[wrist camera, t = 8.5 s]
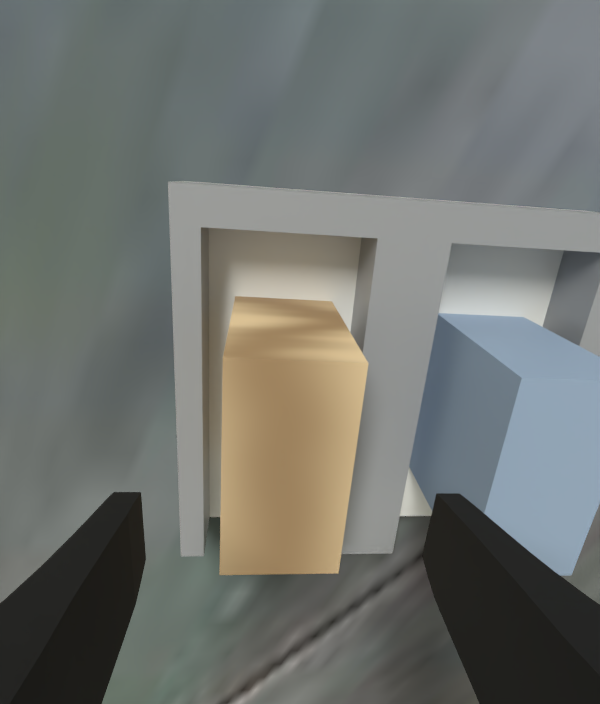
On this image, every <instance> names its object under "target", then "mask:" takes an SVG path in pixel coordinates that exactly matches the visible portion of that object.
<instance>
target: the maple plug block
mask: <svg viewBox="0 0 600 704" xmlns="http://www.w3.org/2000/svg"><path fill="white" fill-rule="evenodd" d="M368 364H369V363H368V362H367V360H366V358H365V356H364V355H363V353H362V351H361V350H360V348H359V346H358V345H357V343H356V341H355V340H354V338H353V336H352V334H351V333H350V331H349V329H348V328H347V326H346V324H345V323H344V321H343V319H342V318H341V316H340V314H339V312H338V311H337V309H336V307H335V306H334V304H333V302H332V301H318V300H299V299H280V298H261V297H242V296H235V300H234V305H233V310H232V315H231V319H230V324H229V329H228V334H227V339H226V344H225V349H224V354H223V373H222V443H221V513H220V575H260V574H329V573H339V566H340V559H341V552H342V545H343V538H344V531H345V524H346V517H347V510H348V503H349V496H350V489H351V482H352V475H353V468H354V461H355V454H356V448H357V441H358V434H359V427H360V420H361V413H362V406H363V399H364V392H365V385H366V378H367V371H368Z"/></svg>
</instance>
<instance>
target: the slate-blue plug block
mask: <svg viewBox="0 0 600 704" xmlns="http://www.w3.org/2000/svg"><path fill="white" fill-rule="evenodd" d="M409 468H410V469H411V471H412V473H413V475H414V477H415V479H416V481H417V483H418V485H419V487H420V489H421V491H422V493H423V494H424V496H425V498H426V500H427V502H428V504H429V506H430V508H431V510H433V506H434V502H435V497H436V493H460V494H461V495H462V496H464V497H465V498H466V499H467V500H469V501H470V502H471V503H472V504H473V505H475V506H476V507H477V508H478V509H479V510H481V511H482V512H483V513H484V514H485V515H487V516H488V517H489V518H490V519H491V520H492V521H494V522H495V523H496V524H497V525H498V526H499V527H501V528H502V529H503V530H504V531H505V532H507V533H508V534H509V535H510V536H511V537H512V538H514V539H515V540H516V541H517V542H518V543H520V544H521V545H522V546H523V547H524V548H526V549H527V550H528V551H529V552H531V553H532V554H533V555H534V556H536V557H537V558H538V559H539V560H540V561H542V562H543V563H544V564H546V565H547V566H548V567H549V568H551V569H552V570H553V571H554V572H556V573H557V574H558V575H572V572H573V570H574V567H575V565H576V562H577V559H578V557H579V554H580V552H581V549H582V547H583V544H584V541H585V539H586V536H587V534H588V531H589V529H590V526H591V524H592V521H593V518H594V516H595V513H596V511H597V508H598V506H599V503H600V357H599V356H597V355H595V354H593V353H591V352H589V351H587V350H586V349H584V348H582V347H580V346H578V345H576V344H574V343H572V342H570V341H568V340H567V339H565V338H563V337H561V336H559V335H557V334H555V333H553V332H551V331H549V330H547V329H546V328H544V327H542V326H540V325H538V324H536V323H534V322H532V321H530V320H528V319H526V318H525V317H512V316H490V315H469V314H447V313H438V318H437V323H436V329H435V334H434V339H433V344H432V349H431V355H430V360H429V365H428V370H427V376H426V381H425V386H424V391H423V396H422V402H421V407H420V412H419V417H418V423H417V428H416V433H415V438H414V444H413V449H412V454H411V459H410V464H409Z"/></svg>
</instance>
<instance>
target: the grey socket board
mask: <svg viewBox="0 0 600 704" xmlns="http://www.w3.org/2000/svg"><path fill="white" fill-rule="evenodd" d="M168 192H169V221H170V250H171V280H172V309H173V338H174V367H175V396H176V426H177V455H178V484H179V513H180V542H181V556H204V552H205V545H206V538H207V531H208V524H209V518H210V517H220V513H221V443H222V373H223V354H224V349H225V344H226V339H227V334H228V329H229V324H230V319H231V315H232V310H233V305H234V300H235V296H242V297H261V298H280V299H299V300H318V301H332V302H333V304H334V306H335V307H336V309H337V311H338V312H339V314H340V316H341V318H342V319H343V321H344V323H345V324H346V326H347V328H348V329H349V331H350V333H351V334H352V336H353V338H354V340H355V341H356V343H357V345H358V346H359V348H360V350H361V351H362V353H363V355H364V356H365V358H366V360H367V362H368V363H369V364H368V371H367V378H366V385H365V392H364V399H363V406H362V413H361V420H360V427H359V434H358V441H357V448H356V454H355V461H354V468H353V475H352V482H351V489H350V496H349V503H348V510H347V517H346V524H345V531H344V538H343V545H342V552H341V554H383V553H393V548H394V543H395V538H396V532H397V527H398V522H399V517H400V516H431V515H432V510H431V508H430V506H429V504H428V502H427V500H426V498H425V496H424V494H423V493H422V491H421V489H420V487H419V485H418V483H417V481H416V479H415V477H414V475H413V473H412V471H411V469H410V468H409V464H410V459H411V454H412V449H413V444H414V438H415V433H416V428H417V423H418V417H419V412H420V407H421V402H422V396H423V391H424V386H425V381H426V376H427V370H428V365H429V360H430V355H431V349H432V344H433V339H434V334H435V329H436V323H437V318H438V313H447V314H469V315H490V316H512V317H525V318H526V319H528V320H530V321H532V322H534V323H536V324H538V325H540V326H542V327H544V328H546V329H547V330H549V331H551V332H553V333H555V334H557V335H559V336H561V337H563V338H565V339H567V340H568V341H570V342H572V343H574V344H576V345H578V346H580V347H582V348H584V349H586V350H587V351H589V352H591V353H593V354H595V355H597V356H600V212H591V211H580V210H567V209H553V208H540V207H526V206H513V205H499V204H486V203H473V202H459V201H446V200H432V199H419V198H405V197H392V196H378V195H365V194H352V193H338V192H325V191H311V190H298V189H284V188H271V187H257V186H244V185H230V184H217V183H204V182H190V181H174V182H168Z"/></svg>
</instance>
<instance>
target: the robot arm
mask: <svg viewBox="0 0 600 704" xmlns="http://www.w3.org/2000/svg"><path fill="white" fill-rule="evenodd" d="M422 557H423V560H424V564H425V567H426V571H427V575H428V578H429V581H430V585H431V588H432V591H433V594H434V598H435V600H436V602H437V605H438V607H439V610H440V612H441V614H442V617H443V619H444V622H445V624H446V626H447V629H448V631H449V633H450V636H451V638H452V640H453V643H454V645H455V647H456V650H457V652H458V654H459V657H460V659H461V661H462V664H463V666H464V668H465V671H466V673H467V675H468V678H469V680H470V682H471V685H472V687H473V689H474V692H475V694H476V696H477V699H478V701H479V704H600V605H599V604H598V603H596V602H595V601H593V600H592V599H591V598H589V597H588V596H586V595H585V594H584V593H582V592H581V591H580V590H578V589H577V588H576V587H574V586H573V585H572V584H570V583H569V582H568V581H566V580H565V579H564V578H562V577H561V576H560V575H558V574H557V573H556V572H554V571H553V570H552V569H551V568H549V567H548V566H547V565H546V564H544V563H543V562H542V561H540V560H539V559H538V558H537V557H536V556H534V555H533V554H532V553H531V552H529V551H528V550H527V549H526V548H524V547H523V546H522V545H521V544H520V543H518V542H517V541H516V540H515V539H514V538H512V537H511V536H510V535H509V534H508V533H507V532H505V531H504V530H503V529H502V528H501V527H499V526H498V525H497V524H496V523H495V522H494V521H492V520H491V519H490V518H489V517H488V516H487V515H485V514H484V513H483V512H482V511H481V510H479V509H478V508H477V507H476V506H475V505H473V504H472V503H471V502H470V501H469V500H467V499H466V498H465V497H464V496H462V495H461V494H460V493H436V497H435V502H434V506H433V510H432V515H431V519H430V524H429V528H428V533H427V537H426V542H425V546H424V550H423V555H422ZM145 560H146V556H145V542H144V528H143V514H142V501H141V492H114V493H113V494H112V495H110V496H109V497H108V498H107V499H106V500H105V501H104V503H103V504H102V505H101V506H100V507H99V508H98V509H97V510H96V511H95V512H94V513H93V514H92V515H91V516H90V517H89V518H88V520H87V521H86V522H85V523H84V524H83V525H82V526H81V527H80V528H79V529H78V530H77V531H76V532H75V533H74V534H73V535H72V536H71V537H70V538H69V539H68V540H67V541H66V542H65V543H64V544H63V545H62V546H61V547H60V548H59V549H58V550H57V551H56V552H55V553H54V554H53V555H52V556H51V557H50V558H49V559H48V560H47V561H46V562H45V563H44V564H43V565H42V566H41V567H40V568H39V569H38V570H37V571H36V572H34V573H33V574H32V575H31V576H30V577H29V578H28V579H27V580H26V581H25V582H24V583H22V584H21V585H20V586H19V587H18V588H17V589H16V590H15V591H14V592H13V593H11V594H10V595H9V596H8V597H7V598H6V599H5V600H4V601H3V602H1V603H0V704H102V701H103V698H104V695H105V692H106V689H107V686H108V683H109V680H110V678H111V675H112V672H113V669H114V666H115V663H116V660H117V657H118V654H119V651H120V649H121V646H122V643H123V640H124V637H125V634H126V631H127V628H128V625H129V622H130V619H131V616H132V613H133V610H134V607H135V604H136V600H137V596H138V592H139V587H140V583H141V579H142V574H143V569H144V565H145Z"/></svg>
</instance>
